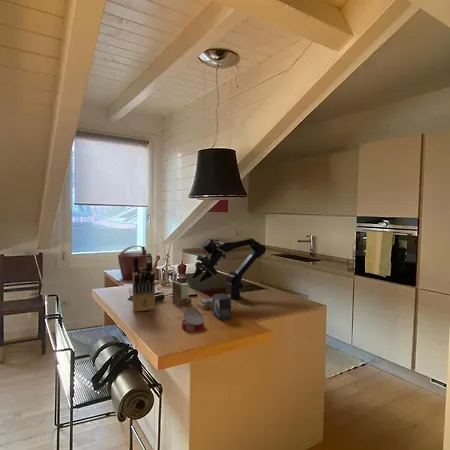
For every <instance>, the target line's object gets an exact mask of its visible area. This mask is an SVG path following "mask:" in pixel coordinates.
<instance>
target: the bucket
mask: <svg viewBox="0 0 450 450" xmlns="http://www.w3.org/2000/svg"><path fill="white" fill-rule="evenodd" d="M137 247H138V248H141V252H127V251H128V250H130V249H132V248H137ZM147 253H148V252H147V249H146V247H145V246H142V245H132V246H130V245H129V246H127V247H126V248H125V249H123V250H121V251H120V253H119V254H117V255H118V256H117V259H118V265H119V270H120V274H121V278H122V280H125V281H133V268H134V266H133V259H134V257H138V268H146V260H147V256H146V254H147Z"/></svg>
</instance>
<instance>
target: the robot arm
mask: <svg viewBox="0 0 450 450" xmlns="http://www.w3.org/2000/svg"><path fill="white" fill-rule="evenodd" d="M246 246H249V247H250V248H251V249H250V253H249V255H248V256H247V257H246V258H245V260H243V262H242V263H241V264H240V265H239V267H238V268H237V269H236V270H235V271H230V272H229V273H228V275H226V279H225V280H226V284H227V285H228V287H230V296H229V297H230V298H231V300H232V299H233V300H240V299H242V298H243V296H242V295H241V290H242V289H243V288H244V284H243V283H242V278H243V275H245V273H246V272H247V271H248V270H249V268H250V267H251V266H252V265H253V263H254V262H255V261H256V260H257V259H258V258H260V257H262V256H263V255H265V253H266V252H267V249H266V246H265V245H264V244H261V243H260V242H258V241H256V240H255V239H254V238H252V237H247V238H244V239H239V240H234V241H220V242H219V243H217V244H216V243H215V242H214V240H213V239H210V238H209V239H208V240H206V241H204V242H203V244H202V246H201V247H202V249H203V250H204V251H205V252H206V253H207V254H208V255H209V254H210V256H208V255H201V254H197V256H196V262H195V264H194V266H195V271H194V273H193V276H192V279H193V280H194V279H196V278H198V277H199V276H200V275H202V276H201V277H200V278H199V280H198V281H199V282H204V281H206V280H207V279H209V278H212V277H216V275H218V270H217V269H216V268H215V266H217V265H218V263H219V262H220V260H221V259H226V258H227V257H226V253H228V252H231V251H232V250H234V249H239V248H242V247H246Z"/></svg>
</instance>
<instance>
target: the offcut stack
mask: <svg viewBox="0 0 450 450" xmlns="http://www.w3.org/2000/svg"><path fill="white" fill-rule="evenodd" d="M196 306H197V308H199V309H201V310H203V311H207V310H213V298H205V299H200V302H197V305H196Z"/></svg>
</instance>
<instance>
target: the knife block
mask: <svg viewBox="0 0 450 450" xmlns="http://www.w3.org/2000/svg"><path fill="white" fill-rule="evenodd" d="M146 253H147V254H146V256H147V260H146V268H138V257H134V259H133V266H134V268H133V280H132V303H133V307H132V308H133V312H140V311H141V312H142V311H150V310H156V293H155V291H156V287H155V286H156V285H155V283H156V282H155V280H156V279H155V277H156V273H155V270H154V267H153V257H152V254H151V253H150V252H146Z"/></svg>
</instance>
